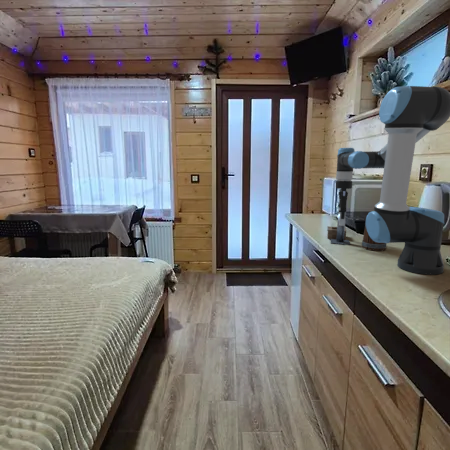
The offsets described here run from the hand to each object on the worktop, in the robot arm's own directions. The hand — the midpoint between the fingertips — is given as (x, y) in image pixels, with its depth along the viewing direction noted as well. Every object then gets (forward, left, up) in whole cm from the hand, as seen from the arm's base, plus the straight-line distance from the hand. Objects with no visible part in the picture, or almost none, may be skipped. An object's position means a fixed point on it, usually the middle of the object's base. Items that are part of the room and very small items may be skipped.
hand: (341, 223), depth 161 cm
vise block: (+10, +2, -10) cm, 14 cm away
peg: (0, 0, -9) cm, 9 cm away
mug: (-5, -14, -10) cm, 18 cm away
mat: (0, 0, -10) cm, 10 cm away
